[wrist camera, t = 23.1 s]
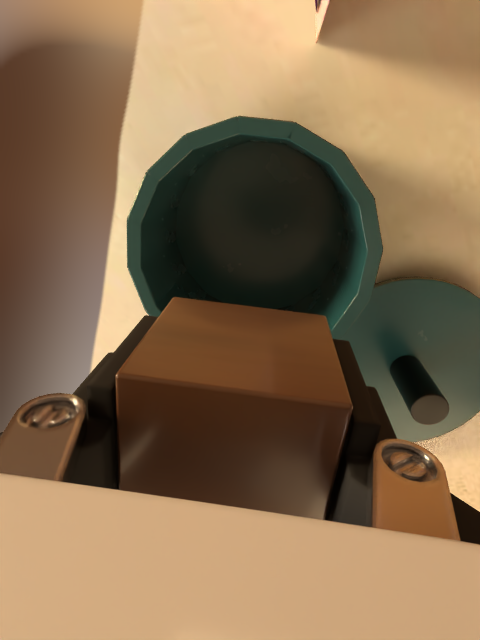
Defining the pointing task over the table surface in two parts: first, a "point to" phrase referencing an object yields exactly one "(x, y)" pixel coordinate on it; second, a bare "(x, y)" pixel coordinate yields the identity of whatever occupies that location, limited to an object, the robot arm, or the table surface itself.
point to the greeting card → (320, 14)
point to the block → (233, 409)
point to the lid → (421, 354)
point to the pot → (256, 223)
